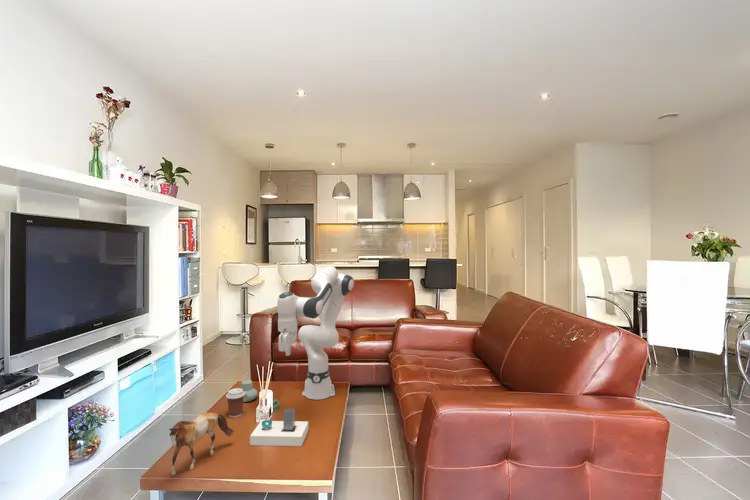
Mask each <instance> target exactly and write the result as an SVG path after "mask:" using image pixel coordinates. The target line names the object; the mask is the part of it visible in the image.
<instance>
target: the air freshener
mask: <svg viewBox="0 0 750 500" xmlns="http://www.w3.org/2000/svg"><path fill="white" fill-rule="evenodd" d="M240 383H241V384H240V388H241V389H243V391H244V392H245V396H244V399H243V403H247V402H251V401H253V400H255V399H256V398H257V397H258V390H257V389H255V388H254V387H253V384H254V383H253V381H252V380H251V379H246V380H242V381H241V382H240Z"/></svg>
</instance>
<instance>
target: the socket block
mask: <svg viewBox="0 0 750 500" xmlns="http://www.w3.org/2000/svg"><path fill="white" fill-rule="evenodd" d="M263 421H264V420H261V421H259V423H258V425H257V426H255V429H253V431H252V432H251V434H250V436H249V445H250V446H266V447H268V446H271V447H272V446H273V447H275V446H277V447H302V446H303V443H304V441H305V439H306V437H307V434H308V432H309V421H300V420H299V421H298V420H295V431H294V432H284V424H283V420H271V421H272V425H271V426H270V430H264V427H262V422H263Z"/></svg>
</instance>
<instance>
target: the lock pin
mask: <svg viewBox="0 0 750 500" xmlns="http://www.w3.org/2000/svg"><path fill="white" fill-rule="evenodd" d="M262 421H263V422H262V427H264V430H270V426H271V425H272V421H273V420H271V419H266V420H262Z"/></svg>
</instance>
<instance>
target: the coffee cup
mask: <svg viewBox="0 0 750 500" xmlns="http://www.w3.org/2000/svg"><path fill="white" fill-rule="evenodd" d="M244 396H245V392H244V391H243V389H241V387H236V388H232V389H228V392H227V393H226V395H225V398H226V399H227V410H228V416H229V417H230V418H238V417H241V416H242V415H243V408H244V402H243V399H244Z"/></svg>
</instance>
